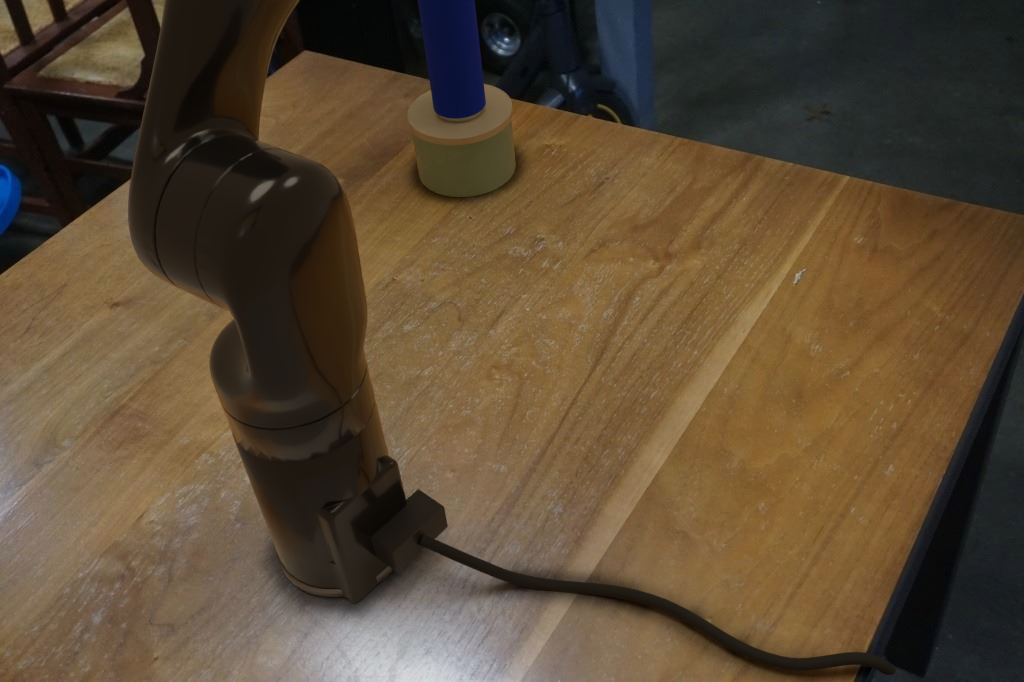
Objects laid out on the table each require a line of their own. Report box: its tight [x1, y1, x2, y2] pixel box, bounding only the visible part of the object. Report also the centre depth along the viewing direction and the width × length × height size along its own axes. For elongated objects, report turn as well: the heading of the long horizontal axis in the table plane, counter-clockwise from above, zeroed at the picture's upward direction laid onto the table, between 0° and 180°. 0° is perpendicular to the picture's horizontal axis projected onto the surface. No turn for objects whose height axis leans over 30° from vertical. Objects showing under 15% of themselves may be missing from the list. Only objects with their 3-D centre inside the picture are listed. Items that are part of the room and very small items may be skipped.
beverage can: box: [417, 0, 486, 122], centre depth 103 cm, size 5×5×15 cm
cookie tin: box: [406, 83, 517, 198], centre depth 111 cm, size 10×10×7 cm
